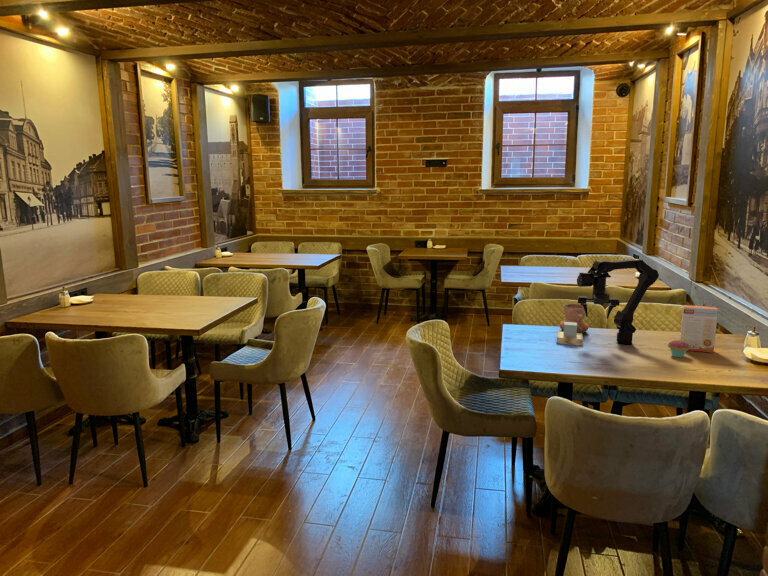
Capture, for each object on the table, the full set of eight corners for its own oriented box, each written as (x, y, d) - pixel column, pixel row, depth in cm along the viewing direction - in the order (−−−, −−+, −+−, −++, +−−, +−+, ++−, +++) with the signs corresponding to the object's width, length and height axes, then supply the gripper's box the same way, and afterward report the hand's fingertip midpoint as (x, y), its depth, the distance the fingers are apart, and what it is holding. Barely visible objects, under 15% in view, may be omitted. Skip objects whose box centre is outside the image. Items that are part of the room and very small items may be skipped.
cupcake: (686, 354, 257) (689, 328, 254) (689, 359, 249) (692, 333, 247) (665, 352, 260) (668, 327, 257) (668, 357, 252) (671, 332, 249)
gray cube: (576, 334, 279) (576, 322, 278) (576, 337, 273) (577, 325, 272) (563, 333, 281) (564, 321, 280) (563, 336, 275) (564, 324, 274)
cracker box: (712, 350, 263) (717, 306, 259) (713, 353, 258) (718, 309, 254) (678, 346, 269) (683, 304, 265) (679, 349, 264) (684, 306, 260)
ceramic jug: (593, 335, 287) (595, 308, 285) (566, 336, 286) (568, 308, 284) (579, 327, 305) (581, 302, 302) (553, 327, 304) (555, 302, 302)
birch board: (581, 338, 281) (582, 333, 281) (582, 345, 270) (582, 339, 270) (556, 336, 285) (557, 331, 284) (556, 343, 274) (556, 337, 273)
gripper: (579, 288, 263) (577, 320, 266) (621, 290, 257) (619, 323, 260) (578, 284, 273) (576, 315, 276) (619, 286, 268) (617, 318, 271)
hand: (596, 318), depth 271 cm, fingers open, 9 cm apart
